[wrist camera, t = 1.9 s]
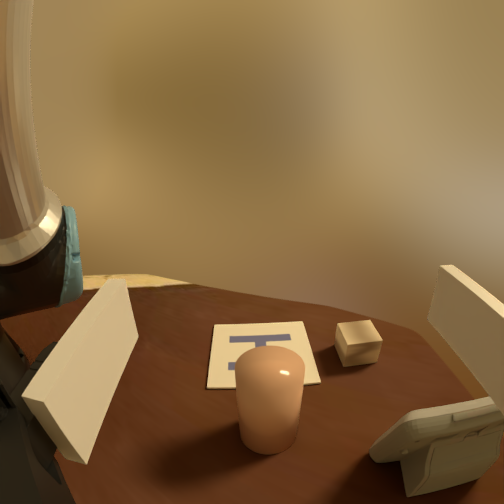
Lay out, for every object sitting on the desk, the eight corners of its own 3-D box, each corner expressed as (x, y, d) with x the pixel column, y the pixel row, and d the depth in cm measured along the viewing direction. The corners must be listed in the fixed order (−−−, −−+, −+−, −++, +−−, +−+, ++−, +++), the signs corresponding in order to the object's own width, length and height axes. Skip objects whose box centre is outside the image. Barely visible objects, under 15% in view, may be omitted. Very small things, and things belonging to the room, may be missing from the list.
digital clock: (490, 428, 23) (531, 360, 19) (500, 488, 15) (559, 424, 11) (369, 428, 28) (394, 357, 24) (359, 496, 20) (396, 437, 16)
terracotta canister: (240, 455, 26) (233, 393, 22) (239, 413, 31) (234, 346, 28) (300, 452, 26) (310, 388, 22) (292, 410, 31) (299, 343, 28)
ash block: (343, 367, 38) (347, 344, 36) (334, 345, 42) (337, 323, 41) (376, 362, 38) (382, 340, 36) (365, 341, 43) (369, 320, 41)
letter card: (207, 388, 35) (206, 387, 35) (214, 326, 48) (214, 324, 48) (320, 383, 35) (320, 381, 35) (302, 322, 48) (302, 321, 48)
